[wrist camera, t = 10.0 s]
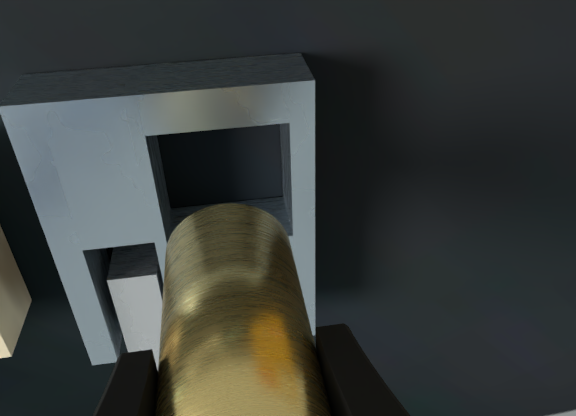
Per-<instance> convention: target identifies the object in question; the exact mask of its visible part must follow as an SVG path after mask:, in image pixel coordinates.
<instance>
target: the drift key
mask: <svg viewBox="0 0 576 416" xmlns="http://www.w3.org/2000/svg"><path fill="white" fill-rule="evenodd" d="M107 283H108V286H109V290H110V293H111V296H112V300H113V303H114V306H115V310H116V313H117V316H118V320H119V323H120V326H121V330H122V333H123V336H124V340H125V343H126V346H127V350H128V352H135V351H143V350H150V349H152V351H153V355H154V358H155V362H156V366H157V370H158V363H159V348H160V332H161V317H162V301H163V286H164V284H163V279H162V274H161V270H160V265H159V261H158V256H157V252H156V247H155V243H145V244H136V245H128V246H119V247H113V252H112V257H111V262H110V267H109V272H108V277H107Z"/></svg>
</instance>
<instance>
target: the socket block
mask: <svg viewBox="0 0 576 416" xmlns="http://www.w3.org/2000/svg"><path fill="white" fill-rule="evenodd" d="M0 114H1V116H2V119H3V122H4V125H5V127H6V130H7V133H8V136H9V138H10V141H11V144H12V147H13V149H14V152H15V155H16V158H17V160H18V163H19V166H20V168H21V171H22V174H23V177H24V179H25V182H26V185H27V188H28V190H29V193H30V196H31V199H32V201H33V204H34V207H35V210H36V212H37V215H38V218H39V221H40V223H41V226H42V229H43V231H44V234H45V237H46V240H47V242H48V245H49V248H50V251H51V253H52V256H53V259H54V262H55V264H56V267H57V270H58V273H59V275H60V278H61V281H62V284H63V286H64V289H65V292H66V294H67V297H68V300H69V303H70V305H71V308H72V311H73V314H74V316H75V319H76V322H77V325H78V327H79V330H80V333H81V336H82V338H83V341H84V344H85V346H86V349H87V352H88V355H89V357H90V360H91V363H92V365H98V364H105V363H113V362H116V361H117V358H118V357H119V352H120V345H121V339H122V330H121V326H120V323H119V320H118V316H117V313H116V310H115V306H114V303H113V300H112V296H111V293H110V290H109V286H108V283H107V277H108V272H109V267H110V261H109V258H108V254H107V251H106V248H109V247H118V246H127V245H136V244H145V243H153V242H154V243H155V247H156V252H157V256H158V261H159V265H160V270H161V274H162V279H163V284H164V271H165V255H166V246H167V243H168V240H169V238H170V236H171V234H172V232H173V231H174V229H175V228H176V227H177V226H178V225H179V224H180V223H181V222H182V221H183V220H184V219H185V218H187V217H188V216H190V215H191V214H193V213H195V212H197V211H199V210H201V209H204V208H207V207H209V206H214V205H218V204H227V203H218V204H209V205H199V206H190V207H181V208H171V207H170V202H169V197H168V191H167V186H166V181H165V176H164V170H163V165H162V160H161V154H160V149H159V144H158V138H157V135H162V134H173V133H184V132H195V131H206V130H217V129H227V128H238V127H249V126H260V125H271V124H280V140H281V164H282V187H283V197H275V198H265V199H256V200H246V201H237V202H228V203H236V204H245V205H249V206H253V207H256V208H259V209H262V210H264V211H266V212H268V213H269V214H271V215H272V216H274V217H275V218H276V219H277V220H278V221H279V222H280V223H281V224H282V226H283V227H284V229H285V230H286V232H287V234H288V237H289V240H290V244H291V248H292V252H293V257H294V261H295V265H296V269H297V273H298V277H299V281H300V285H301V289H302V294H303V298H304V302H305V306H306V310H307V314H308V318H309V322H310V326H311V331H312V335H315V79H314V77H313V76H312V74H311V72H310V70H309V68H308V66H307V64H306V62H305V60H304V59H303V57H302V55H301V53H291V54H278V55H265V56H253V57H240V58H227V59H214V60H201V61H188V62H175V63H162V64H150V65H137V66H124V67H111V68H98V69H85V70H72V71H59V72H47V73H34V74H23V75H22V76H21V77H20V78H19V80H18V81H17V82H16V84H15V85H14V86H13V88H12V89H11V90H10V92H9V93H8V94H7V96H6V97H5V98H4V99H3V101H2V102H1V103H0Z"/></svg>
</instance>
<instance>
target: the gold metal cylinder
mask: <svg viewBox="0 0 576 416" xmlns="http://www.w3.org/2000/svg"><path fill="white" fill-rule="evenodd" d="M155 416H332V413H331V409H330V405H329V401H328V396H327V392H326V388H325V384H324V380H323V376H322V372H321V368H320V364H319V359H318V355H317V351H316V347H315V343H314V339H313V335H312V331H311V326H310V322H309V318H308V314H307V310H306V306H305V302H304V298H303V294H302V289H301V285H300V281H299V277H298V273H297V269H296V265H295V261H294V257H293V252H292V248H291V244H290V240H289V237H288V234H287V232H286V230H285V229H284V227H283V226H282V224H281V223H280V222H279V221H278V220H277V219H276V218H275V217H274V216H272V215H271V214H269V213H268V212H266V211H264V210H262V209H259V208H256V207H253V206H249V205H245V204H236V203H227V204H218V205H214V206H209V207H207V208H204V209H201V210H199V211H197V212H195V213H193V214H191V215H190V216H188V217H187V218H185V219H184V220H183V221H182V222H181V223H180V224H179V225H178V226H177V227H176V228H175V229H174V231H173V232H172V234H171V236H170V238H169V240H168V243H167V246H166V255H165V271H164V286H163V301H162V317H161V332H160V348H159V363H158V378H157V394H156V409H155Z"/></svg>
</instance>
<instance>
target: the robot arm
mask: <svg viewBox="0 0 576 416" xmlns="http://www.w3.org/2000/svg"><path fill="white" fill-rule="evenodd" d="M316 351H317V355H318V359H319V364H320V368H321V372H322V376H323V380H324V384H325V388H326V392H327V396H328V401H329V405H330V409H331V413H332V416H410V415H409V414H408V412H407V411H406V410H405V408H404V407H403V406H402V404H401V403H400V402H399V401H398V399H397V398H396V397H395V395H394V394H393V393H392V392H391V390H390V389H389V388H388V386H387V385H386V383H385V382H384V381H383V379H382V378H381V377H380V375H379V374H378V372H377V371H376V369H375V368H374V367H373V365H372V364H371V362H370V361H369V359H368V358H367V356H366V355H365V353H364V352H363V350H362V349H361V347H360V345H359V344H358V342H357V340H356V339H355V337H354V336H353V334H352V332H351V330H350V329H349V327H348V326H347V325H345V324H337V325H329V326H322V327H316ZM157 378H158V370H157V366H156V362H155V358H154V355H153V351H152V349H150V350H143V351H135V352H128V353H122V354H121V355H120V356H119V357H118V358H117V361H116V364H115V366H114V369H113V371H112V374H111V376H110V379H109V381H108V383H107V386H106V388H105V390H104V392H103V395H102V397H101V399H100V401H99V403H98V406H97V408H96V410H95V412H94V414H93V416H155V409H156V394H157Z"/></svg>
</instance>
